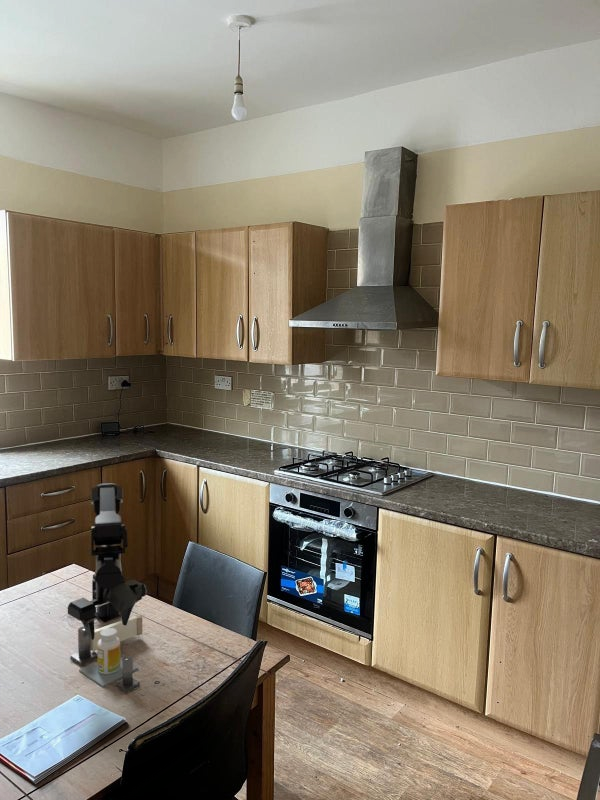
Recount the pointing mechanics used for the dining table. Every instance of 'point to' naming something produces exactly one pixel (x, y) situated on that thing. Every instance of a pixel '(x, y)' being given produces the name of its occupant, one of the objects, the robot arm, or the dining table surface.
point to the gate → (121, 630)
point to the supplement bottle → (108, 651)
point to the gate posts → (88, 655)
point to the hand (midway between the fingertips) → (108, 631)
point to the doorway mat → (101, 678)
